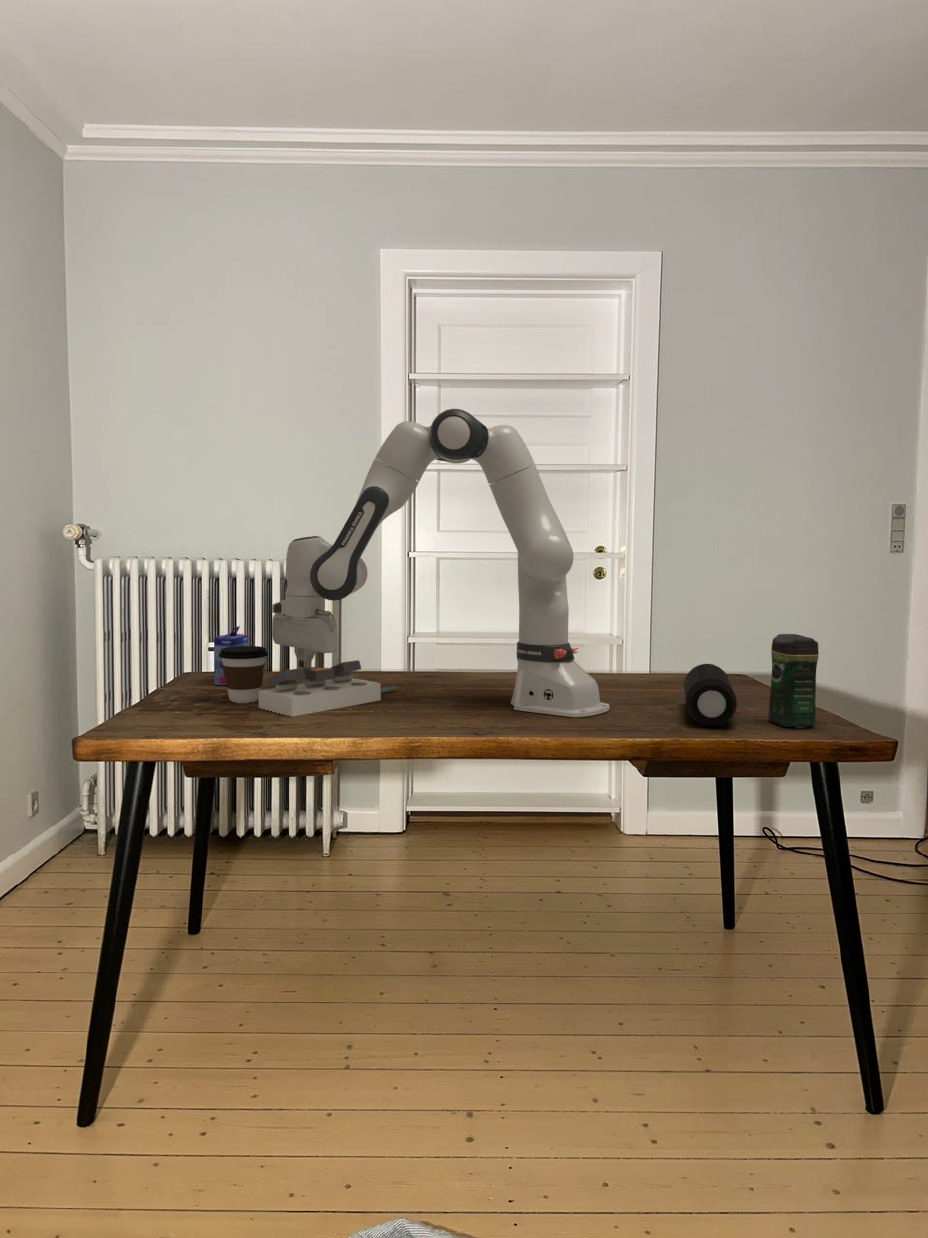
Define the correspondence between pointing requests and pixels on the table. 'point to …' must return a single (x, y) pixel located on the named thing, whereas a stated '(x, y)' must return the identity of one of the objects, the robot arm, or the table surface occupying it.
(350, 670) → the rocker
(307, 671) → the rocker
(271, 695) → the power strip
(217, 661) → the ink cartridge box
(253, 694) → the coffee cup
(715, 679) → the portable speaker
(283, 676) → the rocker
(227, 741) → the table surface
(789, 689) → the coffee jar
